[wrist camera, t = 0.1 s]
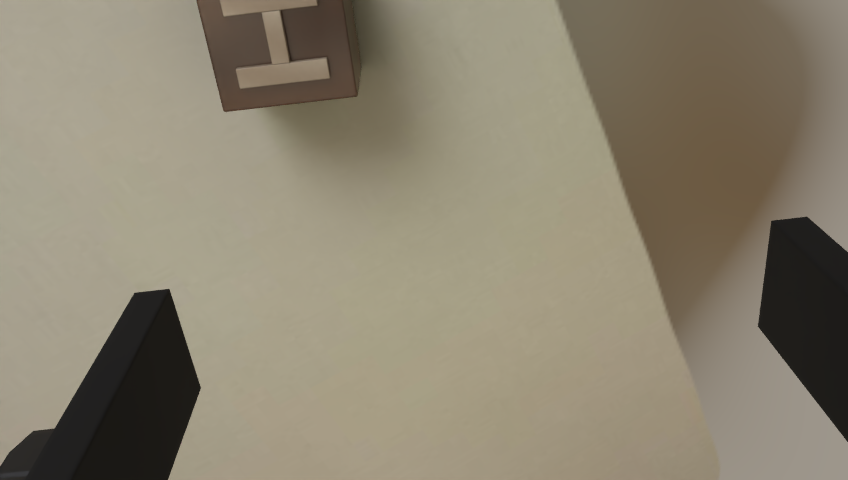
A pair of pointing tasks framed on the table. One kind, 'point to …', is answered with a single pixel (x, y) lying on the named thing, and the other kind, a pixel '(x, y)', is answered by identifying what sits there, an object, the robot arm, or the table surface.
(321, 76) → the tile
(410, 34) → the table surface
